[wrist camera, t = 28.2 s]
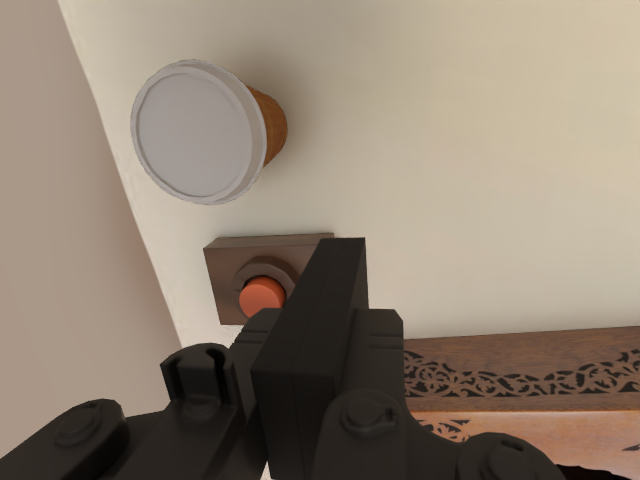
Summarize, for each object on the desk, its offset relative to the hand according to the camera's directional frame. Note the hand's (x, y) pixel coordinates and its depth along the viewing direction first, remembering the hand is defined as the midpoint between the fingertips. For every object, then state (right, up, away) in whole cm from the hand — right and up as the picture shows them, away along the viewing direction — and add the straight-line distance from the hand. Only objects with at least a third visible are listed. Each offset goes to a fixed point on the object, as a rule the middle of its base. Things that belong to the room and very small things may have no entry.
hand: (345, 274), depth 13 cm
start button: (-6, -4, +23) cm, 24 cm away
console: (-5, -3, +27) cm, 28 cm away
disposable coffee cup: (-7, +12, +22) cm, 26 cm away
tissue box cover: (+21, -15, +26) cm, 37 cm away
